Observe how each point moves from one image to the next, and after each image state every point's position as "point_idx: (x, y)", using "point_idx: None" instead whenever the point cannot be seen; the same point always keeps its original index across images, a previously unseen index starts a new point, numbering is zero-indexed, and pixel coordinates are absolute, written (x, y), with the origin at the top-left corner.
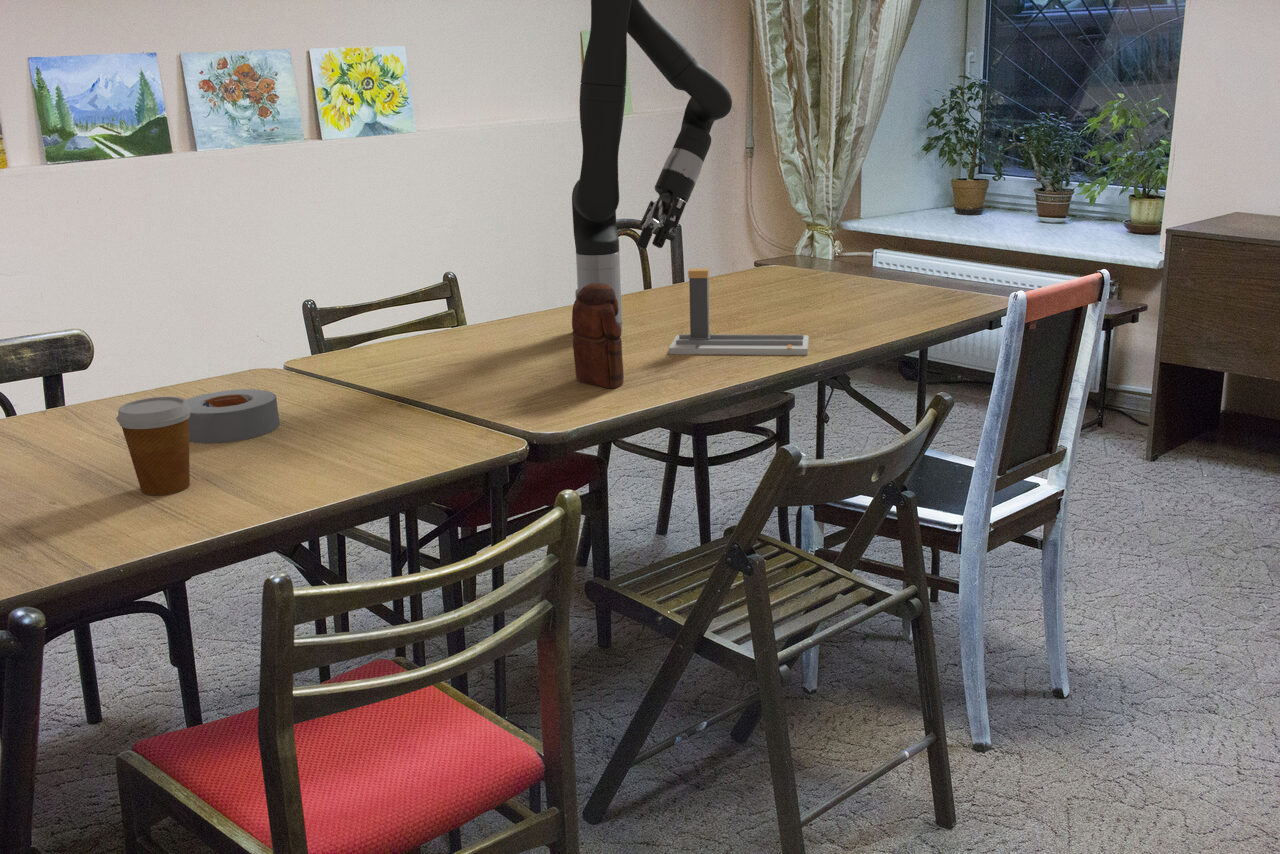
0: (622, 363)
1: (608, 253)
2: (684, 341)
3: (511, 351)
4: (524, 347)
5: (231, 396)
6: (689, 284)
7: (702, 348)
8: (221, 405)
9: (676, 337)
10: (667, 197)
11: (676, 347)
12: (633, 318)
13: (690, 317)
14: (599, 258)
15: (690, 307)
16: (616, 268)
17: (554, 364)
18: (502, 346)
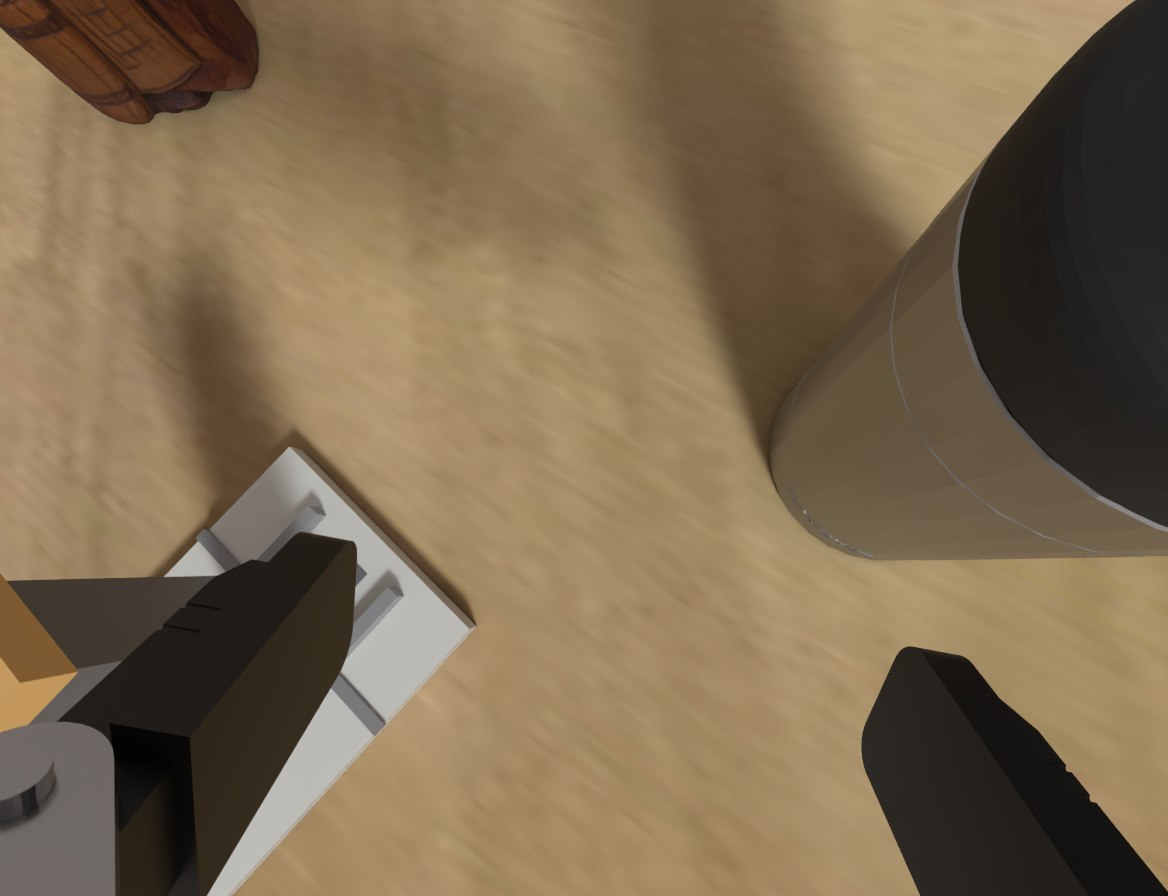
0: (35, 58)
1: (960, 279)
2: (282, 534)
3: (768, 9)
4: (802, 71)
5: None
6: (48, 581)
7: (188, 553)
8: None
9: (428, 595)
10: None
11: (275, 476)
12: (1113, 793)
13: (213, 576)
14: (956, 207)
15: (174, 579)
16: (918, 437)
17: (472, 52)
18: (878, 13)
